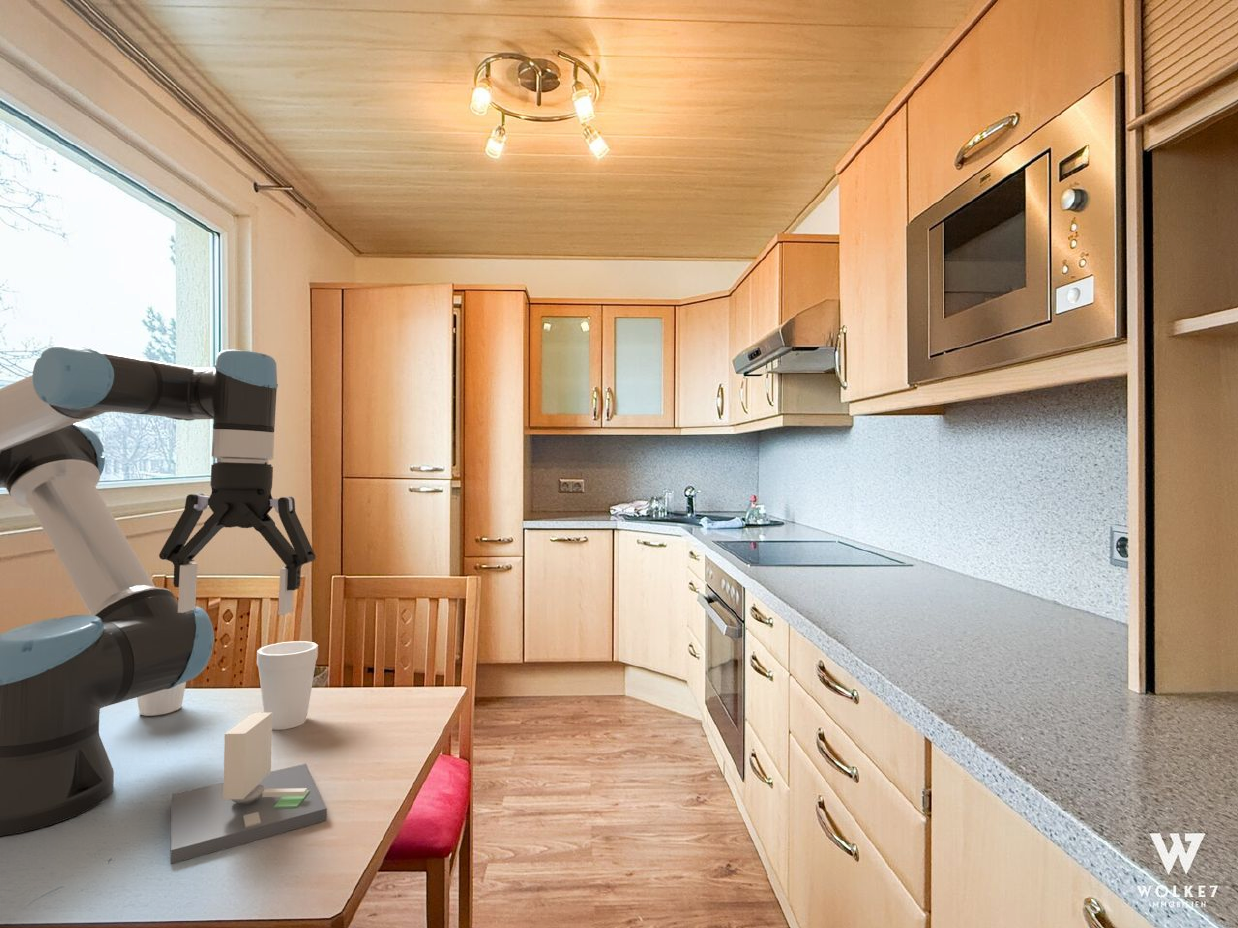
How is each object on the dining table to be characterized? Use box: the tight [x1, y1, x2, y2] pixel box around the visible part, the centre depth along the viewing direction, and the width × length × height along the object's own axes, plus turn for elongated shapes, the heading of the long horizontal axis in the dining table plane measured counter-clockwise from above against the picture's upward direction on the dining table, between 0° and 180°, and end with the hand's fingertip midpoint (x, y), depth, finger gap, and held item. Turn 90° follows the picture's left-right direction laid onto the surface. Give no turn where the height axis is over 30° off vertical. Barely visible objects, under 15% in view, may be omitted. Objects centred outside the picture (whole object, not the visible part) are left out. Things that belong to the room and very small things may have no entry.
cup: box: [136, 682, 187, 717], centre depth 115 cm, size 10×10×13 cm
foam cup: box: [256, 640, 319, 731], centre depth 111 cm, size 10×9×13 cm
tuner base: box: [170, 763, 328, 864], centre depth 81 cm, size 16×15×2 cm
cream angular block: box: [222, 712, 307, 804], centre depth 81 cm, size 7×9×10 cm
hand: (236, 612), depth 89 cm, fingers open, 13 cm apart
